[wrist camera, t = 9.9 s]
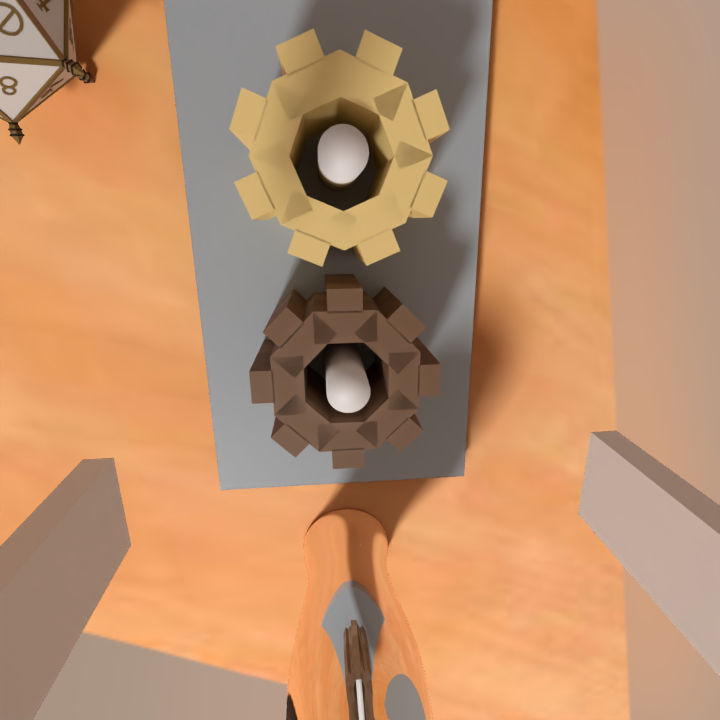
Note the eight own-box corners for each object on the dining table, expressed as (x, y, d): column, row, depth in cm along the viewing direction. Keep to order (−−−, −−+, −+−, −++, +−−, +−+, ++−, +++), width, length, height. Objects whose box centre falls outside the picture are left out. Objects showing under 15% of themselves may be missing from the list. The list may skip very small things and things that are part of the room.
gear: (220, 120, 23) (188, 87, 18) (382, 45, 23) (402, -14, 17) (296, 282, 26) (290, 299, 20) (442, 217, 26) (478, 216, 20)
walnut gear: (259, 275, 26) (242, 291, 20) (417, 272, 26) (443, 286, 21) (270, 422, 28) (257, 473, 23) (413, 415, 29) (436, 463, 23)
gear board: (169, -20, 23) (86, -155, 15) (483, -12, 24) (568, -132, 16) (225, 477, 31) (191, 568, 23) (457, 464, 32) (504, 547, 24)
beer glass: (408, 557, 34) (474, 801, 20) (326, 597, 34) (331, 865, 20) (366, 486, 32) (403, 700, 18) (279, 530, 32) (247, 774, 18)
